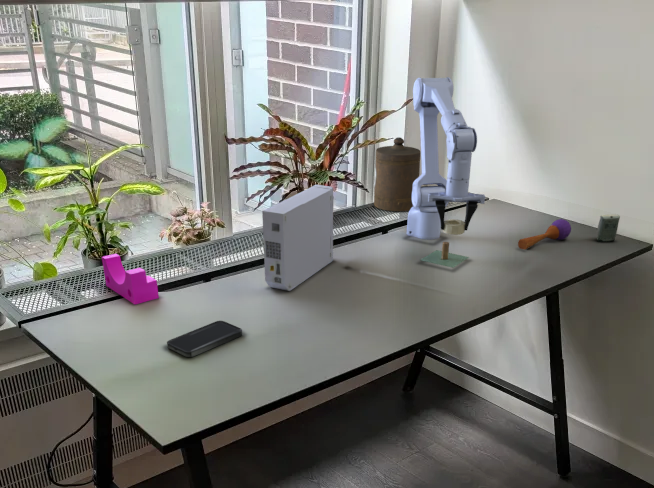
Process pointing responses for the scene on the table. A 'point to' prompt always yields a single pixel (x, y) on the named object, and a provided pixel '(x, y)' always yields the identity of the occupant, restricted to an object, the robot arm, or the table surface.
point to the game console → (298, 237)
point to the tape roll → (454, 227)
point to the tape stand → (444, 257)
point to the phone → (204, 338)
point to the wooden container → (395, 176)
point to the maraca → (548, 234)
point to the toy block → (129, 281)
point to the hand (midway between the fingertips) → (453, 229)
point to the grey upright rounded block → (607, 228)
